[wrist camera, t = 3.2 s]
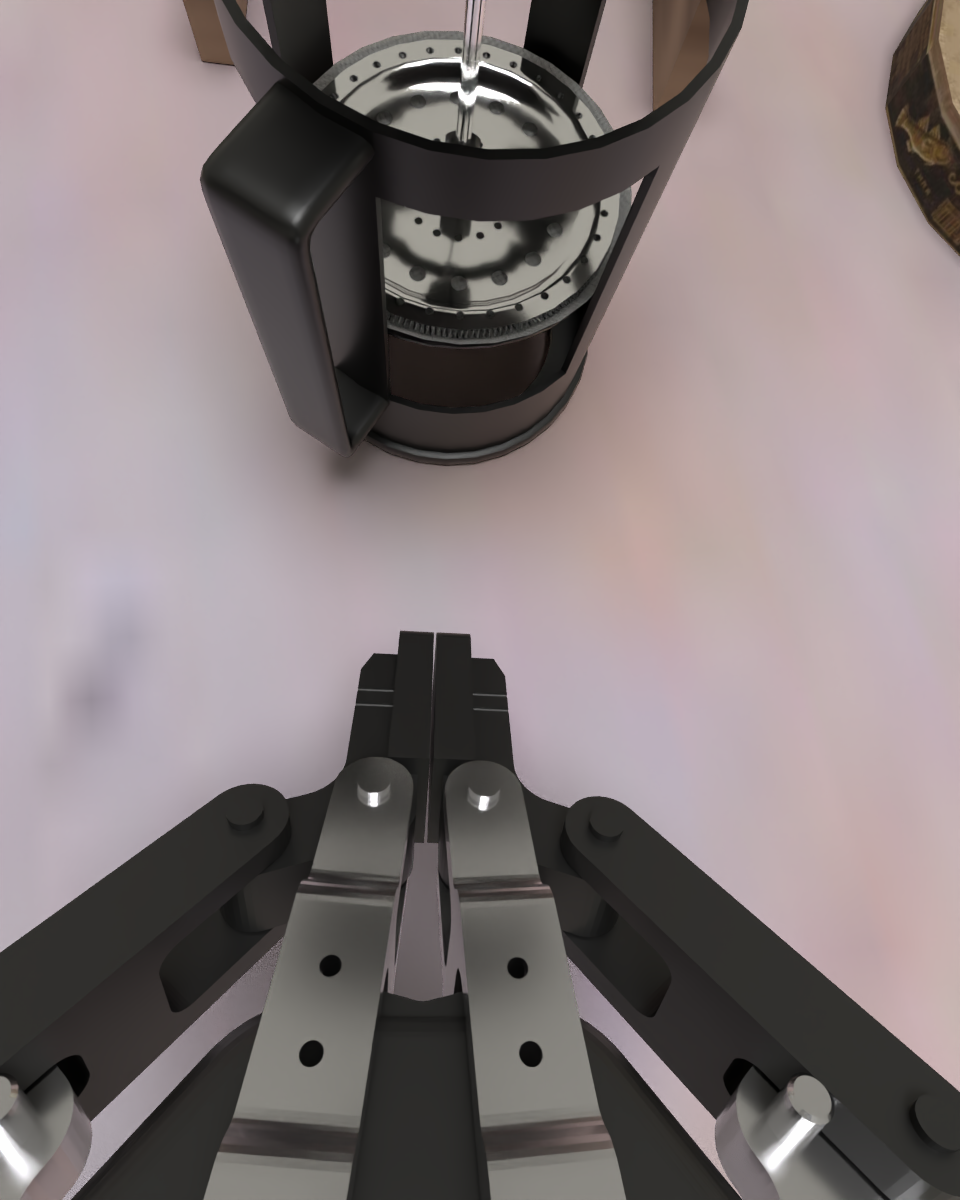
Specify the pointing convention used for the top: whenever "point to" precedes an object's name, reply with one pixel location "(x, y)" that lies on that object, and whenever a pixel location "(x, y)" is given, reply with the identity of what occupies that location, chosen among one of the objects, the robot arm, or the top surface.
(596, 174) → the french press
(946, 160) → the wood slice
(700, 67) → the docking bay
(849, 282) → the top surface
